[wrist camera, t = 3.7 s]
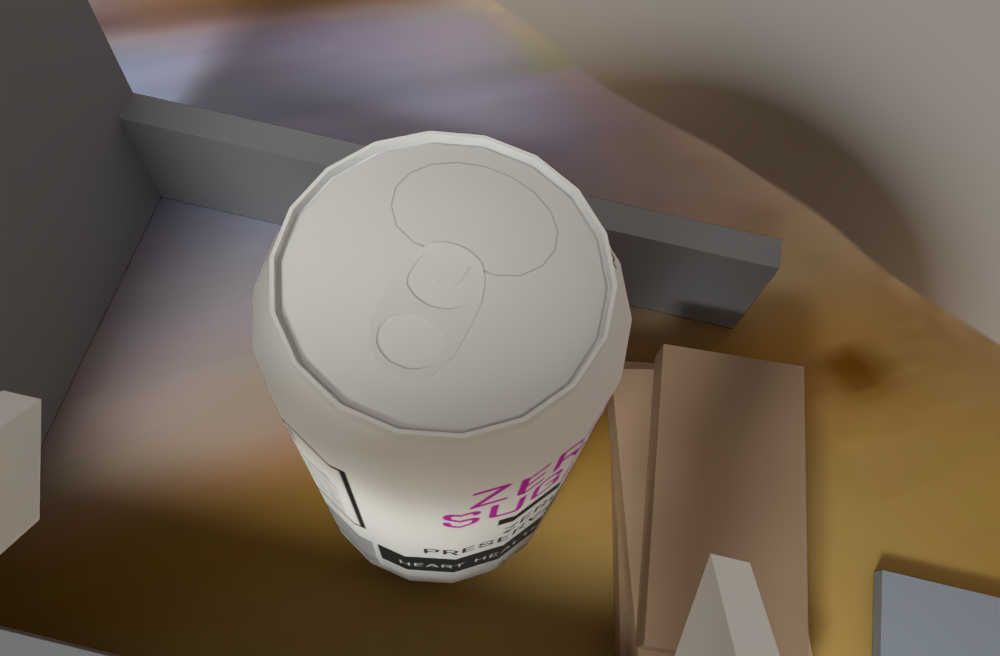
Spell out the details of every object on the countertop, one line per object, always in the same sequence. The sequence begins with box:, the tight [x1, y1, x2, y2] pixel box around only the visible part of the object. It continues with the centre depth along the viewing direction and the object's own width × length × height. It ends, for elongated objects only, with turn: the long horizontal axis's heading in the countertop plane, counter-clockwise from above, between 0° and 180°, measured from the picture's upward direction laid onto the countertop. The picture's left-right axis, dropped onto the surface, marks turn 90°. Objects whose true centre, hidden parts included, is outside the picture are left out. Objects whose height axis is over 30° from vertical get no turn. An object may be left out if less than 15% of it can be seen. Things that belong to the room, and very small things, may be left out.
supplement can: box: [253, 131, 632, 583], centre depth 23 cm, size 8×8×15 cm
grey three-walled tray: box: [0, 0, 782, 656], centre depth 21 cm, size 26×19×20 cm
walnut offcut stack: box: [607, 344, 813, 656], centre depth 29 cm, size 7×12×4 cm, turn 178°
